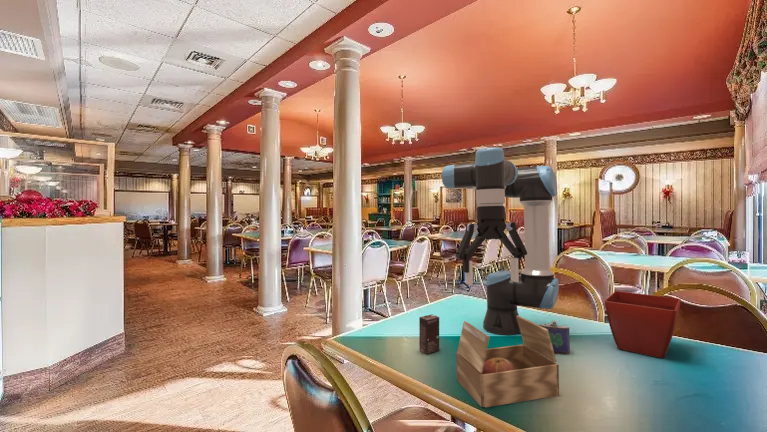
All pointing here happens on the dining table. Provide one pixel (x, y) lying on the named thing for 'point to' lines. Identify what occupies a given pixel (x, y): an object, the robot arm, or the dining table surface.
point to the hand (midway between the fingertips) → (492, 283)
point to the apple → (497, 366)
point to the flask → (559, 337)
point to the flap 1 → (473, 345)
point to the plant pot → (642, 322)
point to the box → (429, 333)
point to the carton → (510, 377)
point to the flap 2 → (536, 338)
